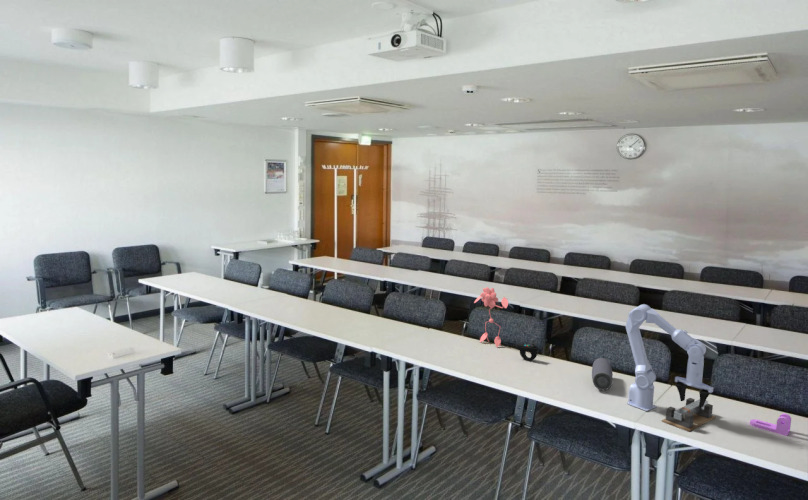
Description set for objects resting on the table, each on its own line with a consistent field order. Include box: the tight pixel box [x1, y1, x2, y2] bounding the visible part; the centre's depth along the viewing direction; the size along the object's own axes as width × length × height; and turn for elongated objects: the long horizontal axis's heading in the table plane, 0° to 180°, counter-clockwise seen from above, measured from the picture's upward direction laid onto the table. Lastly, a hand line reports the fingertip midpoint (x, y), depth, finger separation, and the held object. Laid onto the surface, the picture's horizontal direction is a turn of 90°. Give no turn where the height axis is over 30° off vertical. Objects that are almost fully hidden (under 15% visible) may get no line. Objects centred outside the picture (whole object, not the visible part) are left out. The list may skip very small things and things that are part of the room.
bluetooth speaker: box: [591, 357, 614, 391], centre depth 261 cm, size 23×9×10 cm, turn 161°
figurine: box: [473, 286, 509, 348], centre depth 317 cm, size 15×26×35 cm, turn 40°
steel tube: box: [674, 398, 709, 421], centre depth 224 cm, size 3×22×3 cm, turn 126°
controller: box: [515, 342, 539, 362], centre depth 295 cm, size 4×12×10 cm, turn 53°
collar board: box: [661, 397, 716, 433], centre depth 224 cm, size 11×22×6 cm, turn 126°
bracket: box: [749, 412, 792, 437], centre depth 217 cm, size 13×6×7 cm, turn 46°
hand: (691, 403), depth 224 cm, fingers open, 7 cm apart
